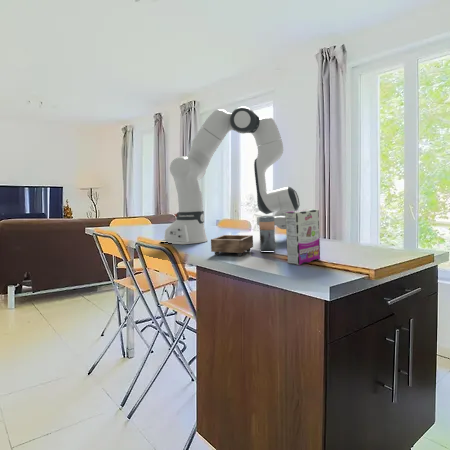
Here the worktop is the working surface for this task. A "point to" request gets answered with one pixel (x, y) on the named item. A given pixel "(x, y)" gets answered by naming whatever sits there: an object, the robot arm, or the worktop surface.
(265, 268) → the worktop surface
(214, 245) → the caster cart
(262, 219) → the slate tin
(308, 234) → the candy bar box
